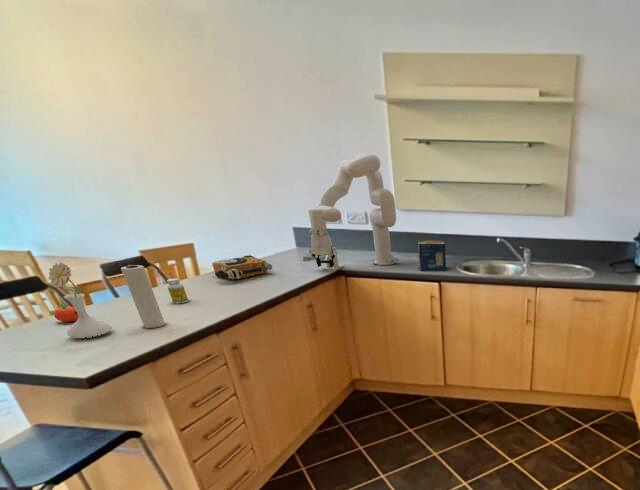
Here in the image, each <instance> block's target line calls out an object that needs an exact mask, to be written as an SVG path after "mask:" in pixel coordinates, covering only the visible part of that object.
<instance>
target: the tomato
mask: <svg viewBox="0 0 640 490" xmlns="http://www.w3.org/2000/svg"><path fill="white" fill-rule="evenodd" d="M53 316H54V318H55V320H58V321H60V322H64V323H72V322H76V321H77V320H78V314H77V311H76V309H75V308H74V306H68V305H67V306H66V305H65V304H64V303H62V304H61V307H57V308H56V309H55V310H54V314H53Z"/></svg>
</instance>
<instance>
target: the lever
mask: <svg viewBox="0 0 640 490" xmlns="http://www.w3.org/2000/svg"><path fill="white" fill-rule="evenodd" d="M328 258H329V257H328V255H327V256H326V258H325V259H323V260H320V263H321V264H326V263H329V261H327V260H328Z"/></svg>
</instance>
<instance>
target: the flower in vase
mask: <svg viewBox="0 0 640 490" xmlns="http://www.w3.org/2000/svg"><path fill="white" fill-rule="evenodd" d="M48 270H49V272H48V275H49V276H48V280H49V281H50V284H51V285H52V286H53V287H54V286H56V288H62V289H64V290H66V291H69V292H72V294H67V295H64V296H63V298H64V299H65V300H67V301H68V302H69V303H70V304H71V305H72V307H74V308H75V309H76V311H77V314H78V320H76V321H74V323H72V325H71V326H70V327H69V329H68V330H67V332H66V335H67V336H68V337H70V338H73V339H88V338H95V337H99V336H103V335H106V334H107V333H109V332H111V331H112V330H113V326H112V325H111V324H110V323H108V322H106V321H103V320H100V319H97V318H94V317H93V316H90V315H89V313H88V312H87V310H86V307H85V305H84V297H85V293H84V291H83V290H82V288H81V287H80V286H79V285H78V286H76V285H75V283H74V282H73V281H72V280H71V277H72V273H71V267H70V266H69V265H68V264H66V263H64V262H62V261H60V262H59V263H57V262H55V263H54V264H53V265H52V267H50V268H48ZM69 282H70V283H71V284H72V286H73V287H74V288H73V287H70V286H68V285H66V284H68V283H69ZM101 334H102V335H101ZM97 335H98V336H97ZM92 336H93V337H92ZM85 337H87V338H85Z"/></svg>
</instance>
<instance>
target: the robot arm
mask: <svg viewBox="0 0 640 490" xmlns="http://www.w3.org/2000/svg"><path fill="white" fill-rule="evenodd" d="M380 168H381V160H380V158H379V157H378V156H377V155H376V154H374V153H358V154H356V155H355V156H354V159H342V160H341V161H340V162H339V164H338V166H337V168H336V172H335V174H334V177H333V180H332V183H331V185H330V186H329V187H328V188H327V190H326V191H325V192H324V194H323V195H322V197H321V199H320V201H319V204H318V207H309V208H308V217H309V223H310V228H311V229H309V233H310V234H311V235H310V246H311V247H310V249H309V251H308V253H309V254H311V255H312V256H313V257H314V258H315V259H316V260H315V259H314V260H315V261H316V265H317V268H319V267H321V266H322V263H320V258H319V256H320V255H328V257H329V259H330V260H329V264H330V267H333V265H334V262H333V259H334V257H335V256H336V255H337V256H338V253H339V252H338V251H337V249H336V250H335V249H333V243H332V240H331V237H330V234H329V233H328V227H327V223H337V222H339V221H340V220H341V218H342V213H341V211H340V210H339V208H336V207H335V205H336V203H337V202H338V201H339V200H340V199H342V198H344V197H345V196H347V195H348V193H349V190H350V189H351V186H352V182H353V180H354V178H355V179H356V178H362V177H366V181H367V182H366V183H367V188H368V197H369V201H370V203H371V204H372V205H374V206H377V207H376V208H375V207H374V208H373V209H371V210H370V212H369V222H370V224H371V229H372V236H373V245H374V253H375V254H374V255H375V260H374V261H373V263H374V265H377V266H391V265H394V264H395V263H396V262H399V261H400V258H399V257H397V256H396V257H394V255H393V254H392V246H391V236H390V234H391V233H390V229H389V228H392V227H394V226H395V225H396V222H397V209H396V201H395V200H396V199H395V195H394V194H393V192H392V191H391V190H389V189H387V188H385V185H384V179H383V175H382V173H381V171H380ZM333 252H334V254H333V255H332V253H333Z"/></svg>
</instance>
